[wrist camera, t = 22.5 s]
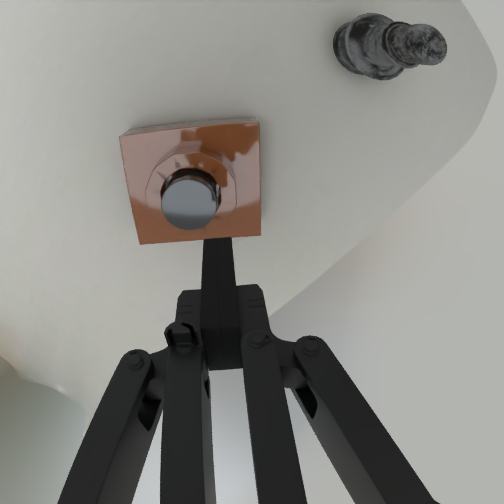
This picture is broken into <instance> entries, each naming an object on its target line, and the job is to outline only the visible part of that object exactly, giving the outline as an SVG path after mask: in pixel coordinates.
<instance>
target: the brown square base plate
mask: <svg viewBox="0 0 504 504" xmlns="http://www.w3.org/2000/svg"><path fill="white" fill-rule="evenodd" d="M119 139H120V146H121V152H122V159H123V165H124V170H125V176H126V182H127V187H128V192H129V197H130V202H131V207H132V212H133V217H134V221H135V226H136V230H137V234H138V239H139V243H140V245H142V244H154V243H166V242H179V241H192V240H204V239H210V238H222V237H231V238H233V237H247V236H261V189H260V126H259V122H258V120H257V119H256V118H255V117H250V118H229V119H214V120H202V121H191V122H181V123H172V124H164V125H156V126H149V127H142V128H136V129H130V130H128V131H127V132H125V133H124V134H122V135H121V136H119ZM188 170H193V171H199V172H201V173H204V174H205V175H207V176H208V177H209V178H210V179H211V180H212V181H213V183H214V184H215V186H216V190H217V210H216V213H215V216H214V217H213V219H212V220H211V221H210V222H209V223H208V224H207V225H206V226H204V227H202V228H200V229H196V230H183V229H179V228H177V227H175V226H173V225H172V224H171V223H169V222H168V221H167V219H166V218H165V216H164V215H163V212H162V209H161V200H162V196H163V193H164V191H165V189H166V186H167V184H168V182H169V181H170V180H171V178H172V177H174V176H175V175H176V174H178V173H180V172H183V171H188Z"/></svg>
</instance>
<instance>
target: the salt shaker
mask: <svg viewBox="0 0 504 504" xmlns="http://www.w3.org/2000/svg"><path fill="white" fill-rule="evenodd" d="M333 47H334V52H335V55H336V57H337V59H338V61H339V62H340V63H341V64H342V65H343V66H344V67H345V68H346V69H348V70H349V71H351V72H353V73H356V74H361V75H366V76H368V77H370V78H373V79H378V80H390V79H392V78H394V77H397V76H398V75H399V74H400V73H402V72H403V70H404V69H405V68H414V67H417V66H418V65H419V64H421V65H436V64H439V63H441V62H442V61H443V60H444V58H445V56H446V53H447V44H446V42H445V39H444V37H443V36H442V34H441V33H440V32H439V31H438V30H437V29H436V28H434V27H433V26H430V25H427V24H415V25H410V24H408V23H405V22H394V21H393V20H391V19H389V18H388V17H386V16H384V15H380V14H376V13H366V14H363V15H360V16H358V17H357V18H355V19H354V20H352V21H351V22H348V23H346V24H344V25H342V26H341V27H340V28H339V29H338V30H337V32H336V33H335V36H334V39H333Z"/></svg>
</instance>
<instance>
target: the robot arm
mask: <svg viewBox="0 0 504 504" xmlns="http://www.w3.org/2000/svg"><path fill="white" fill-rule="evenodd" d="M164 335H165V338H166V341H167V344H168V347H166V348H165V349H163V350H161V351H159V352H155V353H152V354H148V353H147V352H146V351H144V350H141V349H135V350H131V351H129V352H127V353H126V354H124V356H123V357H122V358H121V360H120V362H119V364H118V366H117V368H116V370H115V372H114V374H113V376H112V378H111V380H110V382H109V385H108V387H107V389H106V391H105V393H104V395H103V397H102V399H101V401H100V403H99V406H98V408H97V410H96V412H95V414H94V416H93V419H92V421H91V423H90V425H89V428H88V430H87V432H86V434H85V437H84V439H83V441H82V444H81V446H80V448H79V450H78V453H77V455H76V458H75V460H74V462H73V465H72V467H71V470H70V472H69V475H68V477H67V480H66V482H65V485H64V488H63V490H62V493H61V495H60V498H59V501H58V503H57V504H132V501H133V497H134V494H135V491H136V488H137V485H138V482H139V479H140V476H141V473H142V470H143V466H144V463H145V460H146V457H147V454H148V451H149V448H150V445H151V442H152V439H153V436H154V434H155V431H156V428H157V424H158V422H159V419H160V416H161V413H162V410H163V423H162V441H161V472H160V504H216V493H215V479H214V463H213V444H212V422H211V396H210V380H209V375H208V367H209V371H211V370H212V371H213V370H227V369H239V368H243V374H244V385H245V393H246V403H247V412H248V421H249V429H250V438H251V446H252V455H253V463H254V472H255V480H256V488H257V495H258V503H259V504H307V501H306V495H305V490H304V485H303V480H302V475H301V470H300V465H299V459H298V454H297V449H296V444H295V440H294V434H293V430H292V424H291V420H290V414H289V410H288V405H287V400H286V395H285V389H284V387H285V388H291V390H292V392H293V394H294V396H295V398H296V400H297V402H298V403H299V405H300V407H301V409H302V411H303V413H304V414H305V416H306V418H307V420H308V422H309V423H310V425H311V427H312V429H313V431H314V432H315V434H316V436H317V438H318V440H319V441H320V443H321V445H322V447H323V448H324V450H325V452H326V454H327V456H328V457H329V459H330V461H331V463H332V464H333V466H334V468H335V470H336V471H337V473H338V475H339V477H340V478H341V480H342V482H343V484H344V485H345V487H346V489H347V490H348V492H349V494H350V495H351V497H352V499H353V501H354V502H355V504H440V503H438V502H436V501H435V500H434V499H433V498H432V497H431V495H430V494H429V492H428V491H427V489H426V488H425V486H424V485H423V483H422V482H421V480H420V479H419V477H418V476H417V474H416V473H415V471H414V470H413V468H412V467H411V466H410V464H409V463H408V461H407V460H406V458H405V457H404V455H403V454H402V452H401V451H400V449H399V448H398V446H397V445H396V444H395V442H394V441H393V439H392V438H391V436H390V435H389V433H388V432H387V430H386V429H385V427H384V426H383V425H382V423H381V422H380V420H379V419H378V418H377V416H376V414H375V413H374V412H373V410H372V409H371V407H370V406H369V404H368V403H367V401H366V400H365V399H364V397H363V396H362V394H361V393H360V391H359V390H358V388H357V387H356V385H355V384H354V383H353V381H352V380H351V378H350V377H349V375H348V374H347V372H346V371H345V370H344V368H343V367H342V365H341V364H340V362H339V361H338V360H337V358H336V357H335V355H334V354H333V352H332V351H331V349H330V348H329V347H328V345H327V344H326V343H325V342H324V341H323V340H322V339H321V338H319V337H317V336H304V337H302V338H300V339H298V340H297V342H289V341H284V340H281V339H279V338H277V337H276V336H274V334H273V333H272V332H271V329H270V326H269V320H268V315H267V310H266V306H265V300H264V295H263V291H262V289H261V288H260V287H259V286H258V285H257V284H251V285H239V286H236V280H235V270H234V260H233V249H232V238H231V237H222V238H210V239H204V243H203V261H202V282H201V289H198V290H184V291H182V293H181V294H180V296H179V297H178V301H177V310H176V318H175V322H173V323H171V324H170V325H169V326H168V327H167V328H166V329H165V332H164Z"/></svg>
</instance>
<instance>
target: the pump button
mask: <svg viewBox="0 0 504 504" xmlns="http://www.w3.org/2000/svg"><path fill="white" fill-rule="evenodd" d="M161 209H162V212H163V215H164V216H165V218H166V219H167V221H168V222H169V223H171V224H172V225H173V226H175V227H177V228H179V229H183V230H196V229H200V228H202V227H204V226H206V225H207V224H208V223H209V222H210V221H211V220H212V219H213V217H214V216H215V213H216V210H217V190H216V186H215V184H214V183H213V181H212V180H211V179H210V178H209V177H208V176H207V175H205V174H204V173H201V172H199V171H193V170H188V171H183V172H180V173H178V174H176V175H175V176H174V177H172V178H171V180H170V181H169V182H168V184H167V186H166V189H165V191H164V193H163V196H162V200H161Z"/></svg>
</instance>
